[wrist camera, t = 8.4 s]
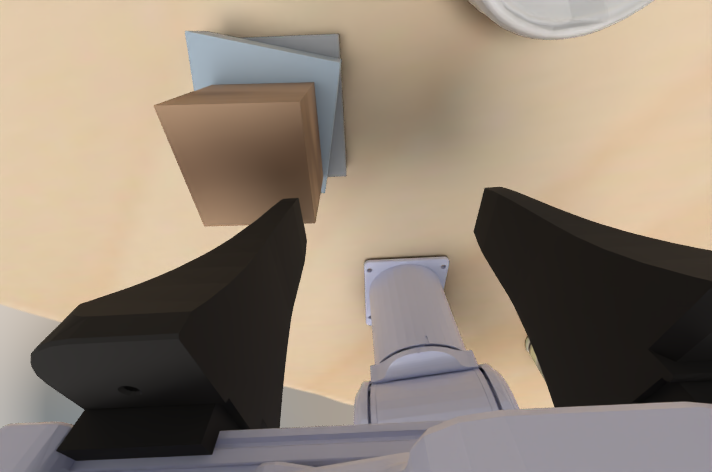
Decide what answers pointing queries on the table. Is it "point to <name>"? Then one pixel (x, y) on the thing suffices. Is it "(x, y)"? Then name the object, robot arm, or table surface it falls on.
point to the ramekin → (557, 15)
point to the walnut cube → (246, 148)
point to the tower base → (331, 48)
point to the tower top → (267, 73)
